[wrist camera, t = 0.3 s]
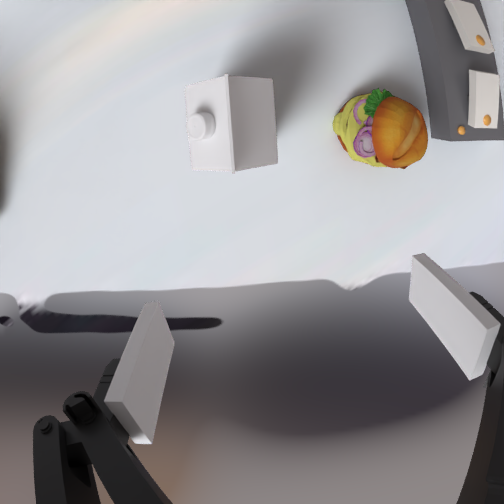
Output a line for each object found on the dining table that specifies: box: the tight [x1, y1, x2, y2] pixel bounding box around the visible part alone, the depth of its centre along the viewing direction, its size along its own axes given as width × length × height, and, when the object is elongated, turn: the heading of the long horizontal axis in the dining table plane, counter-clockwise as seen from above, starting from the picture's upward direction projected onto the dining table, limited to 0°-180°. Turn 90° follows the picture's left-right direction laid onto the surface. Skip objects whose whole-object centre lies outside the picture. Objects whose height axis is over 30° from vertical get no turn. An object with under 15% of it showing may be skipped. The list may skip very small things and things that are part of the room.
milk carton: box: [185, 73, 278, 174], centre depth 29 cm, size 7×7×19 cm
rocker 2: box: [468, 70, 500, 128], centre depth 29 cm, size 8×5×2 cm, turn 11°
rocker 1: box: [444, 0, 495, 54], centre depth 25 cm, size 8×5×2 cm, turn 10°
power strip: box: [405, 0, 504, 141], centre depth 28 cm, size 40×12×6 cm, turn 11°
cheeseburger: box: [333, 88, 428, 169], centre depth 34 cm, size 10×11×10 cm
